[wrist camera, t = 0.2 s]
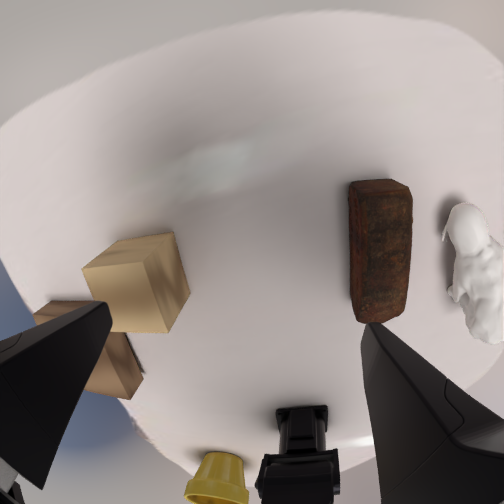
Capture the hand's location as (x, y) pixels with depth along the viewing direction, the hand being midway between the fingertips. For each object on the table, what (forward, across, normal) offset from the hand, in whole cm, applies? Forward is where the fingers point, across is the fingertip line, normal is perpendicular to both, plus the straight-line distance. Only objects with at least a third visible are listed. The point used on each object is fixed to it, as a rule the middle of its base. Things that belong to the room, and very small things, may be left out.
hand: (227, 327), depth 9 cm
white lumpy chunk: (+14, -19, +2) cm, 24 cm away
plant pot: (+15, +6, +43) cm, 46 cm away
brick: (+15, -9, +2) cm, 17 cm away
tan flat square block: (+14, +20, +16) cm, 29 cm away
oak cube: (+14, +10, +5) cm, 18 cm away
